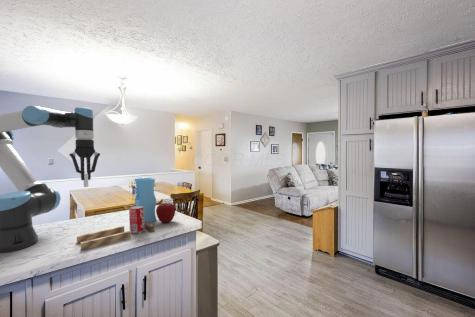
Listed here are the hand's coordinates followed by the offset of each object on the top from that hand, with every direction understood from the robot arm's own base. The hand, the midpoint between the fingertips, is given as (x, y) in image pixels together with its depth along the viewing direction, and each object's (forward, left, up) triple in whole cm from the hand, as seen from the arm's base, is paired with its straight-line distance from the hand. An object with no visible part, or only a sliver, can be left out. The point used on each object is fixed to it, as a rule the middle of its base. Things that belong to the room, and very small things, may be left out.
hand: (86, 186), depth 113 cm
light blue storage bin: (+23, +20, -25) cm, 39 cm away
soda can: (+24, 0, -25) cm, 34 cm away
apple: (+36, +14, -25) cm, 46 cm away
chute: (+12, -9, -24) cm, 29 cm away
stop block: (+29, +3, -24) cm, 38 cm away
